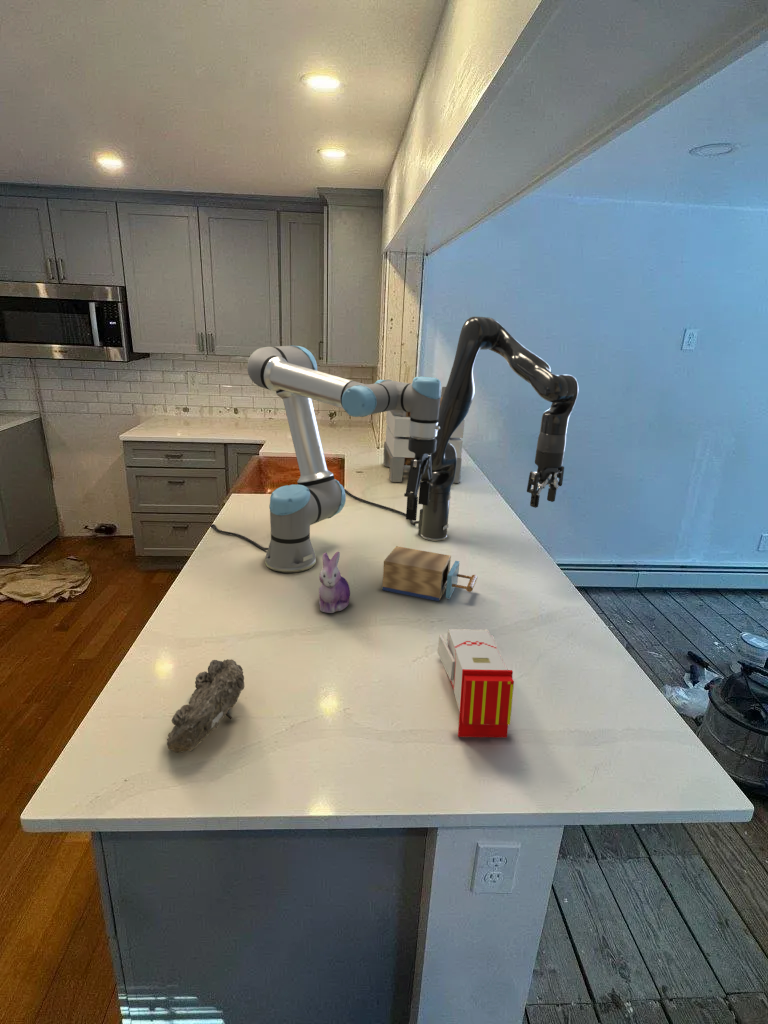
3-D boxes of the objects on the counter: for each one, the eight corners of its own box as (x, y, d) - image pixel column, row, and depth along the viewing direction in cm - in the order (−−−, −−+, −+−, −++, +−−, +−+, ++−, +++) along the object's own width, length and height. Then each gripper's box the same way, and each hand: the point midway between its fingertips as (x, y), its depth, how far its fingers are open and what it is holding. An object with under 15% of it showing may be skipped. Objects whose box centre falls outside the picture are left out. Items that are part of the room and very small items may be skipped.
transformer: (382, 463, 289) (386, 382, 275) (445, 464, 293) (451, 384, 279) (390, 482, 257) (394, 392, 243) (460, 483, 261) (468, 394, 247)
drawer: (477, 586, 162) (479, 564, 159) (470, 603, 153) (472, 579, 150) (407, 573, 168) (408, 552, 165) (396, 588, 159) (398, 566, 156)
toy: (488, 613, 130) (523, 677, 101) (484, 667, 133) (517, 744, 104) (435, 612, 130) (455, 676, 101) (432, 666, 133) (451, 743, 103)
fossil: (192, 660, 117) (244, 628, 112) (224, 691, 120) (276, 661, 115) (142, 746, 98) (202, 712, 93) (182, 779, 101) (242, 748, 96)
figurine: (324, 618, 144) (324, 564, 139) (310, 599, 152) (310, 548, 147) (358, 610, 148) (359, 558, 143) (342, 593, 156) (343, 543, 151)
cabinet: (448, 583, 165) (451, 555, 162) (439, 601, 155) (441, 571, 152) (394, 573, 170) (396, 546, 167) (382, 590, 160) (383, 560, 157)
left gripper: (425, 448, 139) (419, 529, 146) (446, 429, 161) (439, 500, 168) (396, 444, 141) (391, 524, 148) (420, 426, 163) (415, 496, 170)
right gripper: (552, 442, 164) (544, 496, 169) (524, 449, 155) (516, 505, 160) (576, 448, 159) (567, 502, 164) (548, 454, 150) (539, 512, 155)
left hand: (417, 511), depth 158 cm, fingers open, 13 cm apart
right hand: (542, 503), depth 162 cm, fingers open, 8 cm apart
